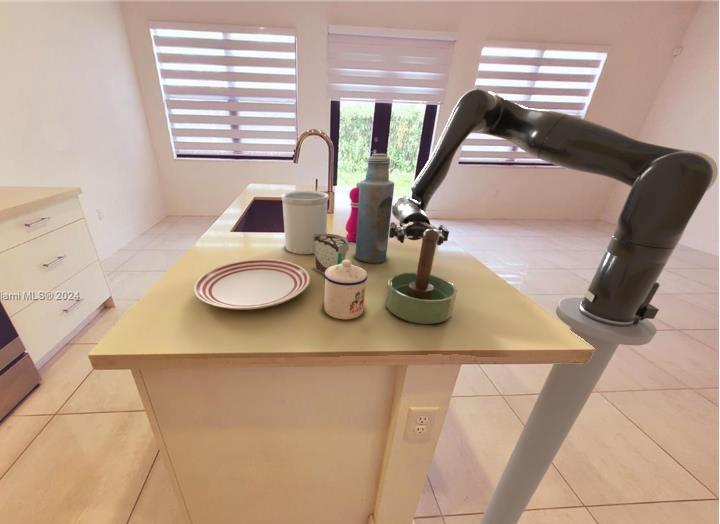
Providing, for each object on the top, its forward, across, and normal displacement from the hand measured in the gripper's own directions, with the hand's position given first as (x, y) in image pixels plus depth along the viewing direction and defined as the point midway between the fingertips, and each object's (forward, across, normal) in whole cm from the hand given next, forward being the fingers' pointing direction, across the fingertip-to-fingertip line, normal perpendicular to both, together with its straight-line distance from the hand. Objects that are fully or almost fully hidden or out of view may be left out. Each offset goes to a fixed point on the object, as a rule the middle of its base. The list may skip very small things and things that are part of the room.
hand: (421, 240), depth 74 cm
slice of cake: (-7, -21, +13) cm, 26 cm away
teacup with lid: (+12, -16, +13) cm, 24 cm away
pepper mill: (-39, -17, +13) cm, 44 cm away
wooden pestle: (+10, 0, +12) cm, 16 cm away
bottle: (-21, -11, +13) cm, 27 cm away
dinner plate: (+8, -39, +13) cm, 42 cm away
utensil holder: (-26, -33, +13) cm, 44 cm away
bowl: (+10, 0, +13) cm, 17 cm away
